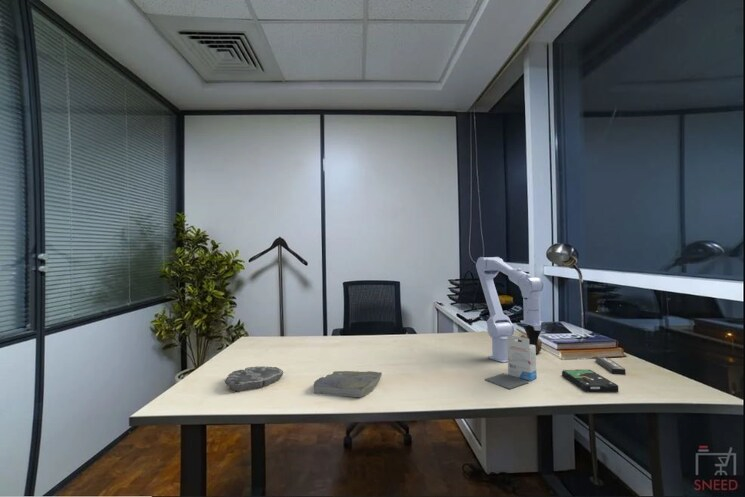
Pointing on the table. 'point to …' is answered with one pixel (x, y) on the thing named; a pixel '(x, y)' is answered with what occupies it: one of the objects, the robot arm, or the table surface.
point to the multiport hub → (610, 365)
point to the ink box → (521, 358)
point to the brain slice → (253, 378)
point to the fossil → (347, 383)
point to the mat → (506, 381)
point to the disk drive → (590, 381)
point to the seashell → (539, 343)
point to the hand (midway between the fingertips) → (532, 345)
